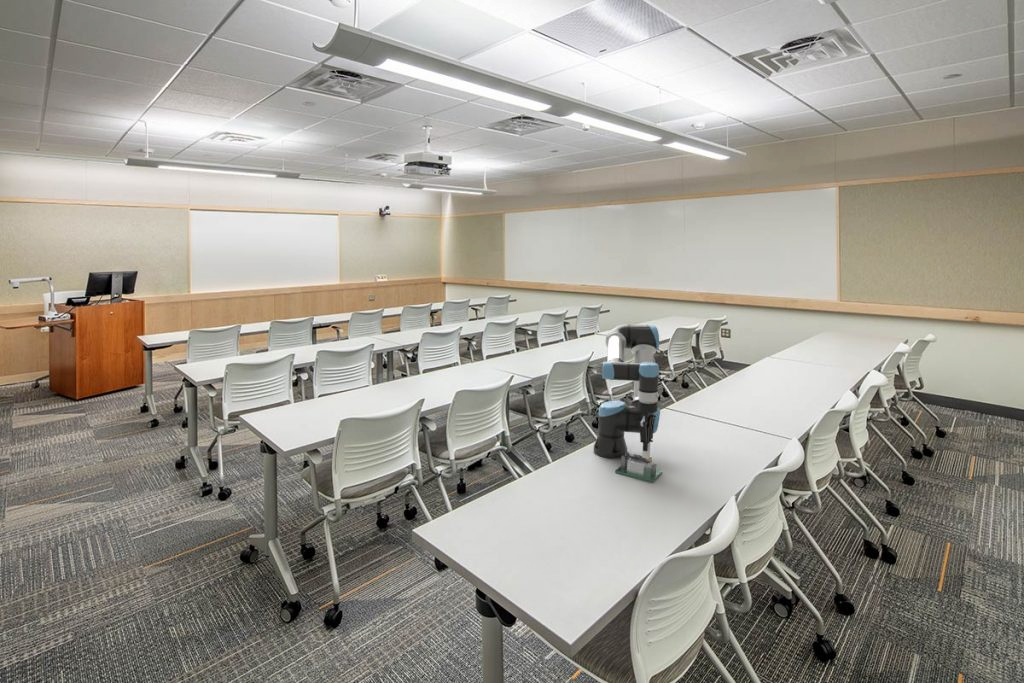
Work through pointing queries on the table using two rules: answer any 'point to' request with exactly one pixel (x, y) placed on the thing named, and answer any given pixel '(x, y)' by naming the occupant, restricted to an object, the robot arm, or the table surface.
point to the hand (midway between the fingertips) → (646, 457)
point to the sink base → (638, 469)
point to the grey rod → (639, 458)
